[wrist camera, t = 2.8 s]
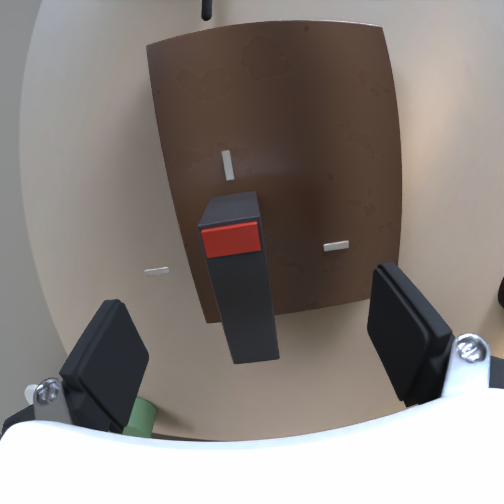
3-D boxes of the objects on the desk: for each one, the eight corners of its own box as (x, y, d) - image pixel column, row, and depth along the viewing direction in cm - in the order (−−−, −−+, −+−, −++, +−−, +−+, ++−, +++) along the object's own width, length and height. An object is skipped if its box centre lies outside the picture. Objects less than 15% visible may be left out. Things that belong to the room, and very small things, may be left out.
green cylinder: (132, 413, 26) (125, 440, 22) (117, 395, 24) (107, 422, 21) (162, 416, 26) (156, 444, 22) (148, 397, 24) (140, 427, 21)
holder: (272, 309, 16) (280, 363, 12) (235, 314, 16) (233, 368, 12) (255, 190, 13) (260, 217, 9) (210, 197, 13) (195, 227, 9)
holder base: (182, 318, 20) (174, 346, 17) (123, 71, 12) (98, 62, 9) (375, 289, 19) (392, 314, 16) (361, 39, 12) (383, 25, 9)
